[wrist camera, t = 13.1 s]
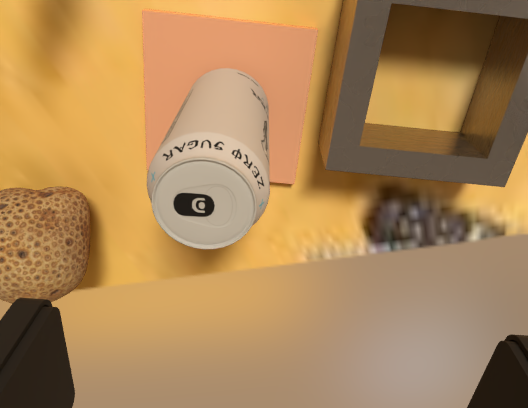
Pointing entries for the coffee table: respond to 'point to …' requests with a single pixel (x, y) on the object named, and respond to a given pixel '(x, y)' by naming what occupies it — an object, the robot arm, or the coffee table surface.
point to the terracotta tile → (234, 57)
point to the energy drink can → (213, 162)
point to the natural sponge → (42, 242)
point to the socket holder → (422, 140)
